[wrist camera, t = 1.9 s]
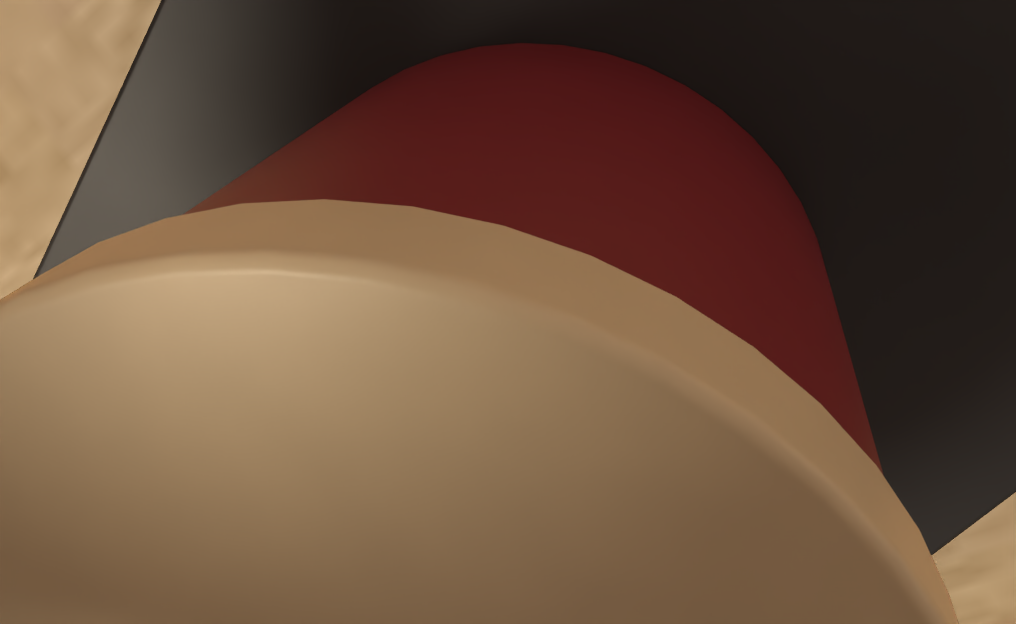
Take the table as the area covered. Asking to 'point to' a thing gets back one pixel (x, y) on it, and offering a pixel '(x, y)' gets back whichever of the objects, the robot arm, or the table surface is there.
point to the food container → (734, 89)
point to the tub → (458, 381)
